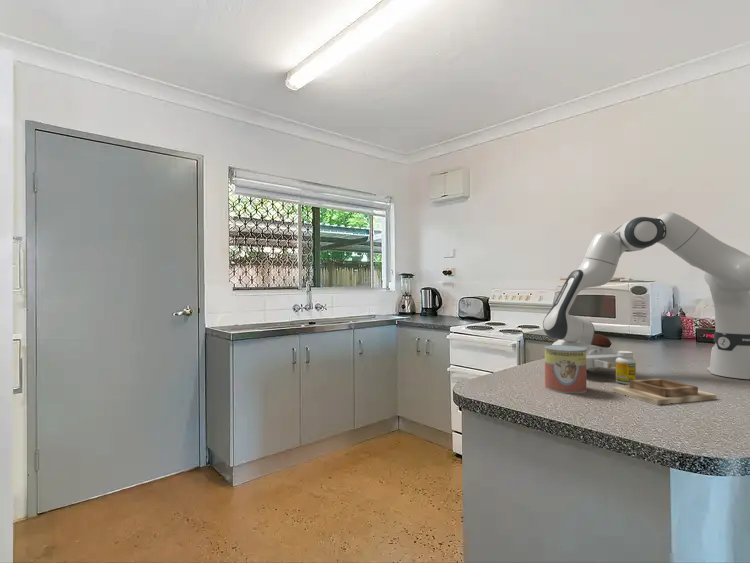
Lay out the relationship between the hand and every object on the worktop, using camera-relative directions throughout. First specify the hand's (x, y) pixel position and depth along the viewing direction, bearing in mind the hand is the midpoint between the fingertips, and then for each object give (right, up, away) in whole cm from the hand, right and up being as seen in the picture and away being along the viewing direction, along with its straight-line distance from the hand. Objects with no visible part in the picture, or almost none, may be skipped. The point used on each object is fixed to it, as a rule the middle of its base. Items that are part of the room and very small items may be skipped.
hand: (621, 364), depth 133 cm
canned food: (-22, -6, -9) cm, 24 cm away
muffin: (+14, -6, +43) cm, 45 cm away
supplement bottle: (0, -6, -2) cm, 6 cm away
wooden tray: (+1, -5, -17) cm, 18 cm away
